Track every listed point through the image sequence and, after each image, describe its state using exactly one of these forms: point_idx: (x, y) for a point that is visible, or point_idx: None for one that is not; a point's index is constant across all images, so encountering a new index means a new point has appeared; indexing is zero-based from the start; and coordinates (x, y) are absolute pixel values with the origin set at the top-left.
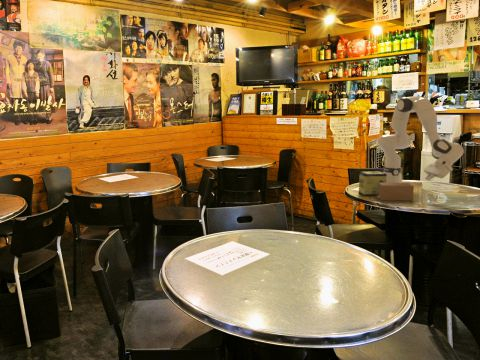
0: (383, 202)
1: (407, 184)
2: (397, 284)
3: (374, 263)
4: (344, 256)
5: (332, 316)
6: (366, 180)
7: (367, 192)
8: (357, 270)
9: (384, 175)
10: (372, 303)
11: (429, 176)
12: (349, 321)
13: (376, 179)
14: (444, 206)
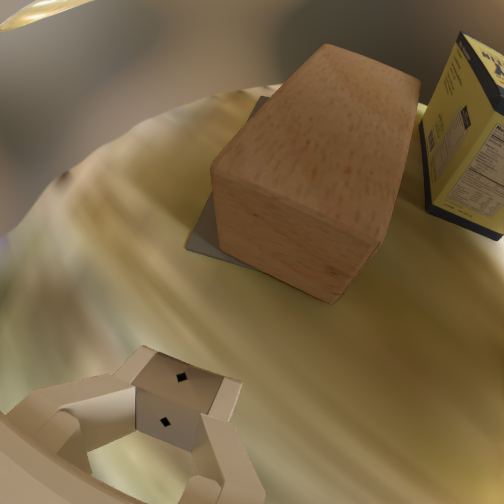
0: (264, 101)
1: (306, 161)
2: (6, 28)
3: (32, 19)
4: (63, 5)
5: (29, 6)
6: (450, 63)
7: (426, 120)
8: (40, 11)
9: (491, 95)
10: (14, 18)
11: (112, 388)
12: (20, 11)
13: (463, 86)
14: (22, 338)
